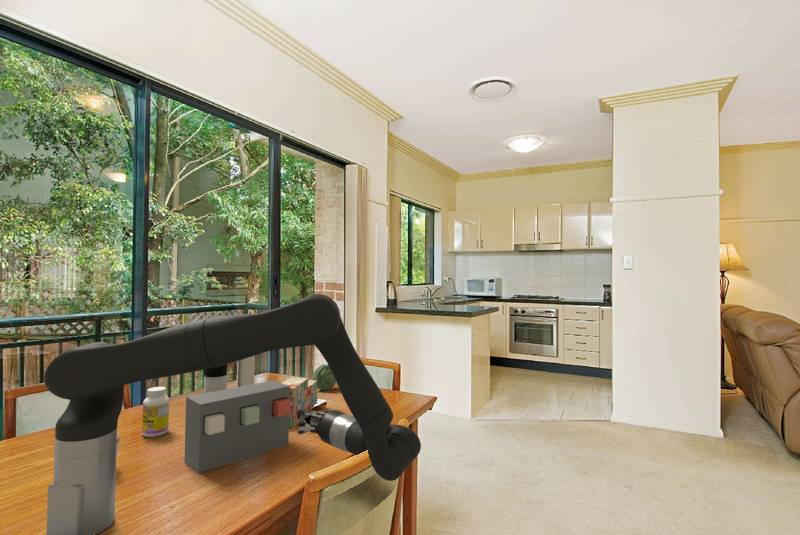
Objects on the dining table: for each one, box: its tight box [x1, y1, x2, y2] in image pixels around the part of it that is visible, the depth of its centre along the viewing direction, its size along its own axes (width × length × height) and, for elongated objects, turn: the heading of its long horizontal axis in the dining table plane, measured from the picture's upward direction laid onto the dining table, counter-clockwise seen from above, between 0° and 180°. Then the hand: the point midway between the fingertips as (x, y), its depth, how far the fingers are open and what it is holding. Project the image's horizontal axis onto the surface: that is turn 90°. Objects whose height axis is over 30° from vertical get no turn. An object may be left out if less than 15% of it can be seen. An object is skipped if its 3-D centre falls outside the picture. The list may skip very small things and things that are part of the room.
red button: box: [273, 398, 290, 417], centre depth 114 cm, size 4×3×4 cm
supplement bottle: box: [141, 386, 170, 438], centre depth 123 cm, size 7×7×13 cm
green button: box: [240, 405, 260, 425], centre depth 107 cm, size 4×3×4 cm
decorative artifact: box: [312, 363, 337, 392], centre depth 171 cm, size 10×7×10 cm
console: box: [183, 380, 290, 474], centre depth 111 cm, size 24×8×16 cm, turn 137°
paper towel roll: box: [236, 355, 256, 387], centre depth 162 cm, size 7×6×21 cm
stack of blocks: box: [281, 376, 318, 428], centre depth 141 cm, size 21×6×12 cm, turn 171°
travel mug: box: [203, 363, 229, 394], centre depth 125 cm, size 6×7×20 cm
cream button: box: [204, 413, 225, 435], centre depth 101 cm, size 4×3×4 cm
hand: (299, 413), depth 108 cm, fingers closed
